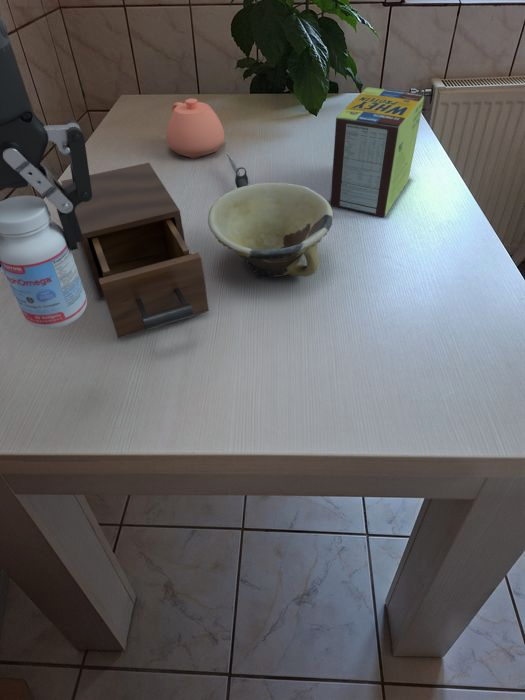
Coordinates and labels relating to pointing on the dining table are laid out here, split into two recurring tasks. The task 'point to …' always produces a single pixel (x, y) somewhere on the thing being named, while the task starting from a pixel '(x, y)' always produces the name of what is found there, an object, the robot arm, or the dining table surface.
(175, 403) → the dining table surface
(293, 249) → the bowl
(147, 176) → the cabinet
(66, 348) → the dining table surface
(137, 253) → the drawer
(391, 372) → the dining table surface
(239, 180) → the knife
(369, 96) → the protein box
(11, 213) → the pill bottle
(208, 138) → the sugar bowl
